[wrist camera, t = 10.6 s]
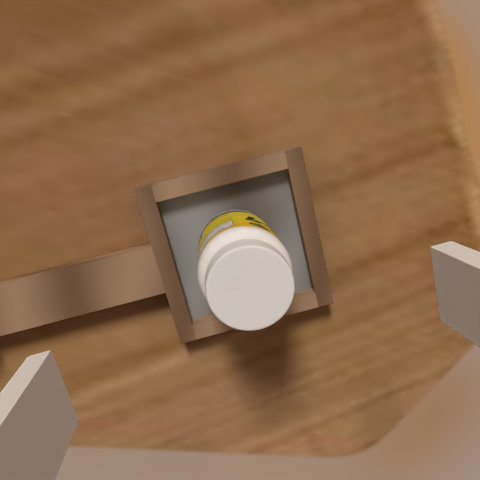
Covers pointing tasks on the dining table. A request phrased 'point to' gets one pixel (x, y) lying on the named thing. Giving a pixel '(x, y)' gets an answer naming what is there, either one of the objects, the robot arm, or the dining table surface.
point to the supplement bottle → (244, 271)
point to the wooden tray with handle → (182, 249)
